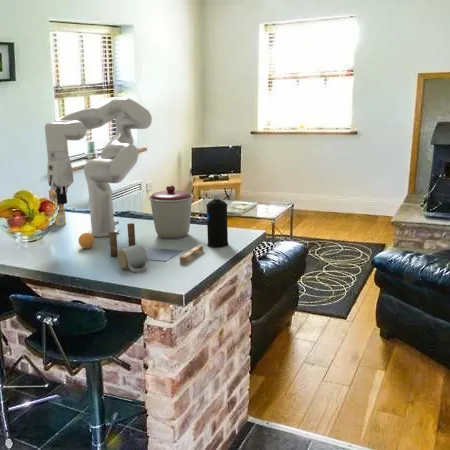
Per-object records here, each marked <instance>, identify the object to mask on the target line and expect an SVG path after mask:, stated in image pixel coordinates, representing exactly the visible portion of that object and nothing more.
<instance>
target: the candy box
mask: <svg viewBox="0 0 450 450" xmlns="http://www.w3.org/2000/svg"><path fill="white" fill-rule="evenodd" d="M48 197H49V198H48V199H49V201H50V200H52V201H54V202H55V203H57V194H56V193H55V191H54V190H51V189H49V190H48ZM57 204H58V203H57ZM58 205H59V210H58V214H57V216H56V220H55V222H54V223H53V224H54V225H56V227H59V226H60V227H61V226H65V225H67V221H66V220H67V219H66V211H65V204H58Z"/></svg>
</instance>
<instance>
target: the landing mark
mask: <svg viewBox="0 0 450 450" xmlns="http://www.w3.org/2000/svg"><path fill="white" fill-rule="evenodd" d="M145 251H146V254H147V261H153V262H154V261H155V262H167V261H169V260H171V259H172V258H173V257H175V256H177V255H178V254H179V253H181V252H183V250H182V249H173V248H172V249H171V248H159V247H151V246H150V247H147V248H146V249H145Z"/></svg>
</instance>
